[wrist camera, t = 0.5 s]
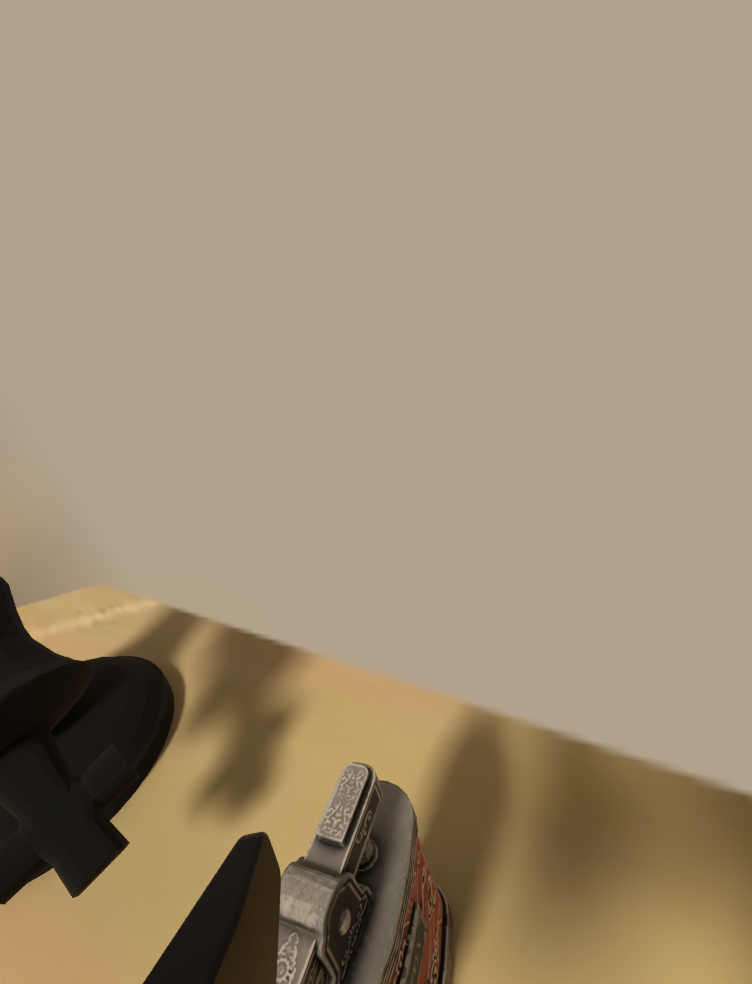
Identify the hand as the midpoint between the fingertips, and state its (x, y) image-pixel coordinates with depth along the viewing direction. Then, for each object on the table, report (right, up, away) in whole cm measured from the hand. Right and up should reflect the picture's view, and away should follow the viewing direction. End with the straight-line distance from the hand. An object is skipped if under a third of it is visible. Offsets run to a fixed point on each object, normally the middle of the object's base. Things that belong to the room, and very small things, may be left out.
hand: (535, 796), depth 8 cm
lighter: (-2, -14, +9) cm, 17 cm away
